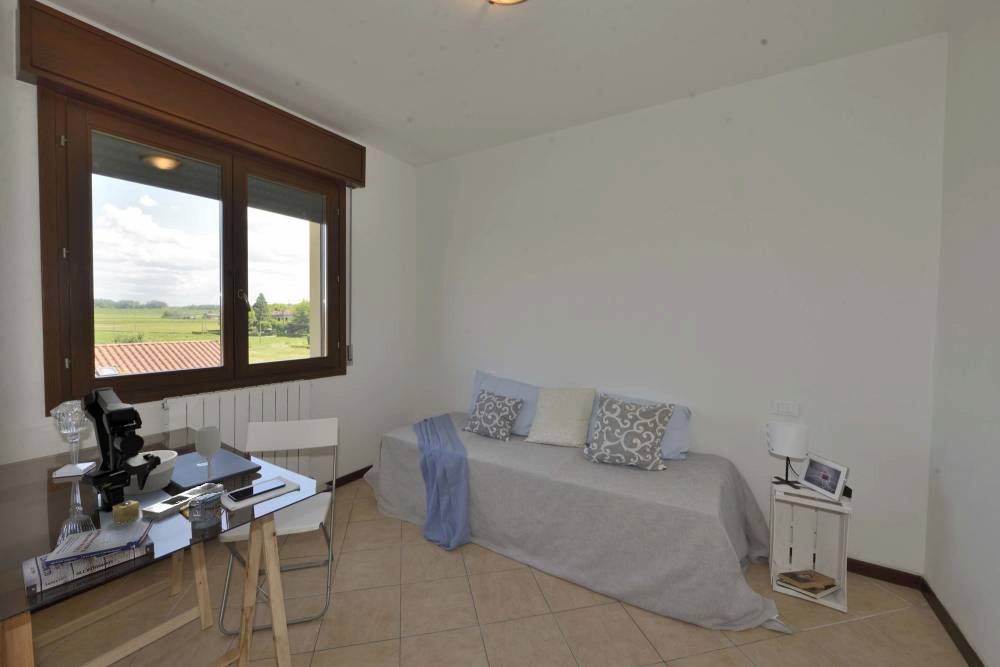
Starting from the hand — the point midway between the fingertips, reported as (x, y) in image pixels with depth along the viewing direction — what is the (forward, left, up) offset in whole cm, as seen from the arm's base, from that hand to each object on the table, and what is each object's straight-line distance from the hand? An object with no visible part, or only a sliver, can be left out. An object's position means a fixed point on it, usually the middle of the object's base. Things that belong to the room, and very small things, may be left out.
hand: (125, 496), depth 135 cm
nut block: (0, 0, -8) cm, 8 cm away
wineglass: (-2, +29, -8) cm, 30 cm away
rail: (+7, +13, -8) cm, 17 cm away
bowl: (-21, +19, -8) cm, 30 cm away
